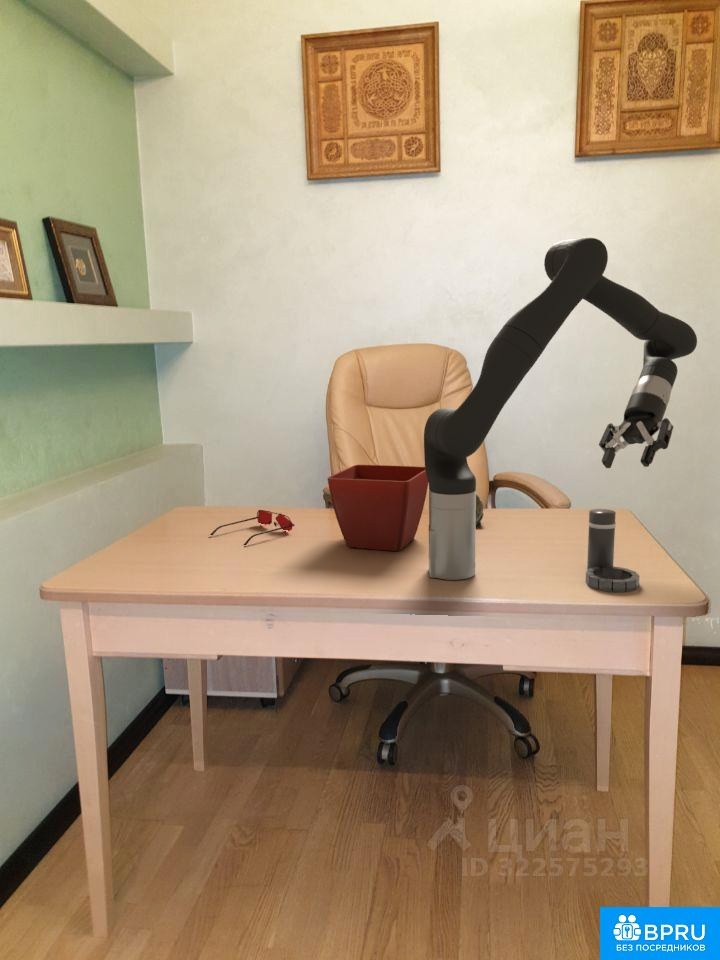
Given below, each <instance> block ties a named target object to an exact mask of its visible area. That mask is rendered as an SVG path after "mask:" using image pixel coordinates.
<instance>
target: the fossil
mask: <svg viewBox="0 0 720 960" xmlns="http://www.w3.org/2000/svg"><path fill="white" fill-rule="evenodd" d="M484 507H485V506H484V502H483V501H482V500H481V498H480V496H479V495H478V494H477V493H476V526H477V525H479V524H480V523H481V521H482V520H483V517H484Z"/></svg>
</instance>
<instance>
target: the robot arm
mask: <svg viewBox="0 0 720 960" xmlns="http://www.w3.org/2000/svg"><path fill="white" fill-rule="evenodd" d="M544 257H545V258H544V262H543V263H544V264H543V266H544V271H545V273H546V275H547V277H548V279H549V280H550V281H551V282H550V283H549V284H548V286H547V287H546V288H545V289H544V290H543V291H542V292H541V293H540V294H538V295H537V296H536V297H534V298H533V299H532V300H531V301H529V302H528V303H527V304H526V305H524V306H523V307H522V308H520V309H519V310H518V311H516V312H515V313H514V314H513V315H512V316H511V317H510V318H509V319H508V320H507V321H506V322H505V323H504V325H503V326H502V328H501V329H500V331H498V333H497V334H496V336H495V337H494V339H493V340H492V341H491V342H490V345H489V347H488V348H487V350H486V353H485V356H484V359H483V362H482V366H481V370H480V374H479V378H478V380H477V382H476V384H475V386H474V387H473V389H472V391H471V392H469V394H468V395H467V397H466V398H465V400H463V401H462V403H461V404H460V405H459V406H458V408H452V407H442V408H437V409H436V410H435V411H432V413H431V414H430V415H429V416H428V418H427V419H426V422H425V426H424V432H423V452H424V454H423V455H424V467H425V472H426V476H427V478H428V481H429V482H428V503H429V504H428V511H429V512H428V517H429V518H428V522H429V523H428V571H429V573H428V574H429V578H435V579H436V578H437V579H440V580H441V579H442V580H447V581H448V580H449V581H459V580H466V579H470V578H473V577H474V576H475V575H476V533H477V531H476V528H477V527H476V526H477V525H476V494H477V479H476V476H475V475H474V473H473V471H472V470H471V469H470V467H469V464H468V457H470V456H472V455H473V454H474V453H476V451H478V450H479V448H480V447H481V445H482V444H483V443H484V441H485V440H486V438H487V436H488V434H489V433H490V430H491V429H492V428H493V425H494V424H495V422H496V420H497V418H498V416H499V414H500V413H501V411H502V409H503V408H504V406H506V404H507V402H508V401H509V399H510V398H511V397H512V395H513V394H514V392H515V391H516V390H517V388H518V387H519V385H520V384H521V382H522V381H523V380H524V378H525V377H526V375H527V374H528V373H529V371H530V370H531V369H532V368H533V367H534V366H535V363H536V362H537V361H538V360H539V358H540V357H541V355H542V354H543V353H544V351H545V349H546V348H547V346H548V345H549V343H550V342H551V340H552V339H553V337H555V335H556V334H557V332H559V330H560V328H561V327H562V326H563V324H564V323H565V321H566V320H567V319H568V318H569V316H570V315H571V313H572V312H573V310H574V309H576V307H577V306H578V305H579V303H580V302H581V301H582V300H584V301H586V302H588V303H589V304H591V305H592V306H594V307H596V308H597V309H599V310H600V311H601V312H603V313H605V314H606V315H607V316H608V317H610V318H612V319H613V320H614V321H615V322H616V323H617V324H619V325H620V326H621V327H623V328H624V329H625V330H626V331H627V332H628V333H630V334H631V336H633V337H634V338H637V340H641V341H644V344H643V361H642V363H643V364H642V369H641V372H640V375H639V377H638V379H637V382H636V383H635V386H634V388H633V389H632V392H631V394H630V396H629V400H628V402H627V405H626V407H625V410H624V413H623V421H622V422H621V424H620V425H614V424H613V423H611V422H610V423H608V424H607V426H606V428H605V429H604V432H603V433H602V436H601V439H600V440H599V443H598V446H599V447H600V448H601V450H603V454H602V459H601V463H602V465H603V466H604V467H605V469H611V468H612V466H613V463H614V460H615V457H616V453H618V452H619V451H620V450H621V449H625V448H626V447H628V445H635V444H644V443H646V445H645V446H644V449H643V453H642V455H641V457H640V463H641V464H642V466H643V467H645V468H647V467H649V466H650V465H651V464H652V463H653V461H654V458H655V456H656V453H657V452H658V451H659V450H661V449H662V450H666V449H668V447H669V444H670V441H671V437H672V433H673V430H674V426H673V424H672V422H671V421H670V420H669V418H667V417H665V418H664V415H665V412H666V410H667V407H668V405H669V403H670V399H671V394H672V389H673V387H674V384H675V381H676V379H677V377H678V366H677V365H676V363H675V362H674V361H673V360H676V359H680V358H683V357H687V356H689V355H691V354H692V353H693V352H694V351H695V349H696V348H697V345H698V338H697V337H698V336H697V334H696V332H695V330H694V329H693V327H692V326H690V325H689V324H688V323H687V322H686V321H683V320H682V319H679V318H677V317H675V316H672V315H670V314H668V313H665V312H662V311H660V310H659V309H658V308H657V307H655V305H654V304H652V303H651V302H650V301H648V300H647V299H646V298H645V297H643V296H642V295H641V294H639V293H637V292H636V291H634V290H631V289H630V288H628V287H625V286H623V285H621V284H620V283H617V282H615V281H613V280H611V279H609V278H607V277H606V276H605V275H604V273H605V271H606V268H607V265H608V260H609V253H608V249H607V247H606V245H605V244H604V242H602V241H601V240H600V239H598V238H595V237H584V236H583V237H579V238H571V239H570V238H569V239H565V240H564V239H563V240H560V241H558V242H556V243H554V244H552V245H551V247H549V249H548V250H547V252H546V253H545V256H544ZM657 432H658V434H657V438H656V440H655V439H654V437H653V436H654V435H655V434H656V433H657ZM621 438H622V439H623V441H621Z"/></svg>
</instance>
